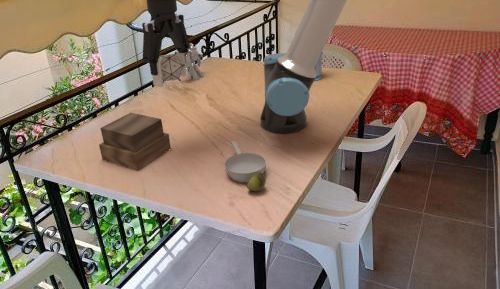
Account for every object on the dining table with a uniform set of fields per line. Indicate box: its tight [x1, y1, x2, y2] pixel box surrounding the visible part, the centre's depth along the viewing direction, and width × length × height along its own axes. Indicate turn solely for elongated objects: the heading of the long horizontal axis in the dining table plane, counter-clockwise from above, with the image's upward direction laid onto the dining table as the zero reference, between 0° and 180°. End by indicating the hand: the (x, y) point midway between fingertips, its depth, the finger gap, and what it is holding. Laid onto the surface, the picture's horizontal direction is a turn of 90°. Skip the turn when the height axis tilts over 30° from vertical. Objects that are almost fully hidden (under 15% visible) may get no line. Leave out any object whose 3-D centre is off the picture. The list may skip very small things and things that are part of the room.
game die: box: [158, 51, 185, 84], centre depth 117 cm, size 9×8×10 cm
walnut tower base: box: [98, 112, 172, 171], centre depth 123 cm, size 14×14×10 cm
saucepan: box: [224, 140, 267, 183], centre depth 115 cm, size 11×18×4 cm, turn 17°
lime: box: [246, 172, 266, 192], centre depth 104 cm, size 4×5×5 cm
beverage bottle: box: [314, 51, 324, 82], centre depth 174 cm, size 8×8×20 cm
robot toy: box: [185, 42, 204, 81], centre depth 181 cm, size 15×6×15 cm, turn 158°
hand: (170, 80), depth 118 cm, fingers closed on game die, 9 cm apart
